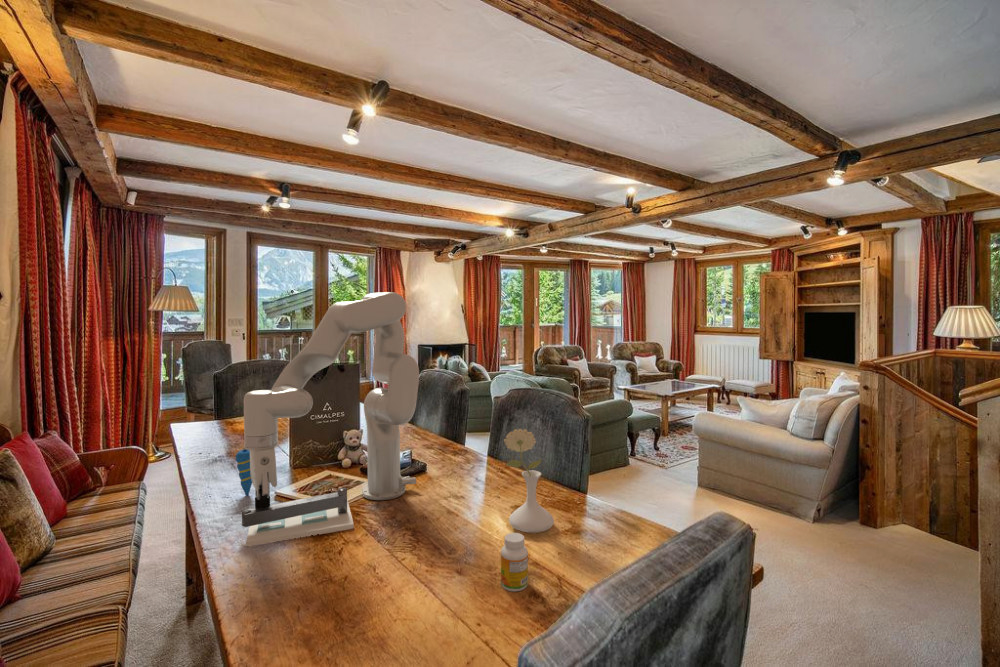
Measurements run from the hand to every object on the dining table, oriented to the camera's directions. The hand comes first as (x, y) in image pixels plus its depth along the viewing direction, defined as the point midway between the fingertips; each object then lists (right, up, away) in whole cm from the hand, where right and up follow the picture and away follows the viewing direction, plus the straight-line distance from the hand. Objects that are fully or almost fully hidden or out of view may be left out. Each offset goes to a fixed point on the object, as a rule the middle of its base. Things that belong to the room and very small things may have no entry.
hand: (262, 512), depth 120 cm
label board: (+9, -4, +3) cm, 10 cm away
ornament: (-16, -3, +22) cm, 28 cm away
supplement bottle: (+62, -6, -24) cm, 67 cm away
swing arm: (+8, -3, +1) cm, 9 cm away
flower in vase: (+67, -4, +2) cm, 67 cm away
